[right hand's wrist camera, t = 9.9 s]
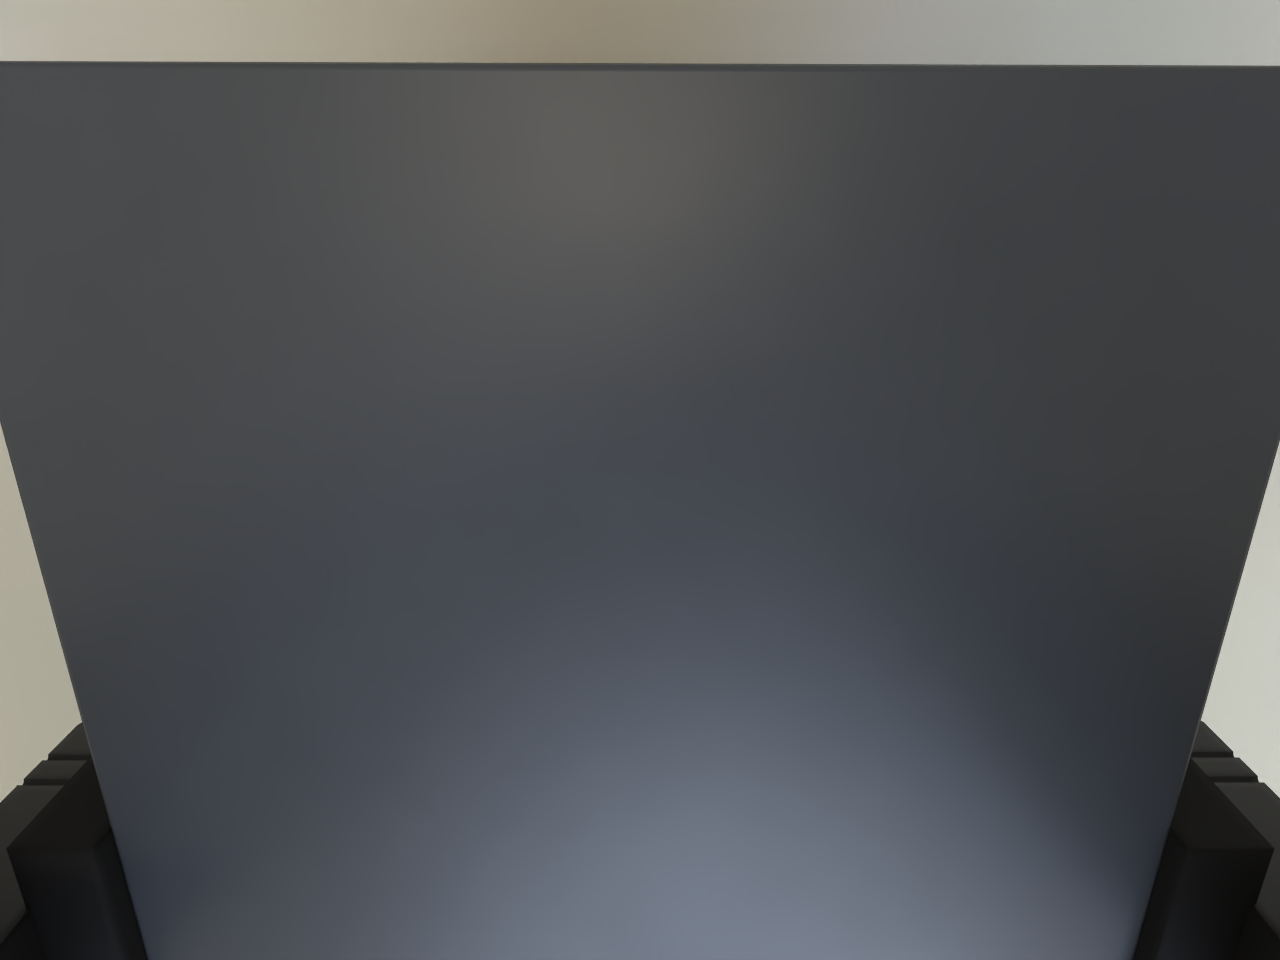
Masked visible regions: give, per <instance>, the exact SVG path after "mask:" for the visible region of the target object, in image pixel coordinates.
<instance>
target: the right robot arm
mask: <svg viewBox="0 0 1280 960" xmlns="http://www.w3.org/2000/svg"><path fill="white" fill-rule="evenodd" d="M0 960H147V956H146V953H145V949H144V945H143V942H142V938H141V934H140V931H139V927H138V923H137V920H136V916H135V912H134V909H133V905H132V901H131V898H130V894H129V890H128V887H127V883H126V879H125V876H124V872H123V869H122V865H121V861H120V858H119V854H118V850H117V847H116V843H115V839H114V836H113V832H112V828H111V825H110V821H109V817H108V814H107V810H106V806H105V803H104V799H103V795H102V792H101V788H100V784H99V781H98V777H97V773H96V770H95V766H94V762H93V759H92V755H91V752H90V748H89V744H88V741H87V737H86V733H85V730H84V726H83V722H82V723H80V724H79V725H77V726H76V727H75V728H74V729H73V730H72V731H71V732H70V733H69V734H68V735H67V736H66V737H65V738H64V739H63V740H62V741H61V742H60V743H59V744H58V745H57V746H56V747H55V748H54V749H53V750H52V751H51V752H50V753H49V754H48V760H42V761H41V762H40V763H39V764H38V765H37V766H36V767H35V768H34V769H33V770H32V771H31V772H30V773H29V774H28V775H27V776H26V777H25V778H24V783H23V785H18V786H17V787H16V788H15V789H14V790H13V791H12V792H11V793H10V794H9V795H8V796H7V797H6V798H5V799H4V800H3V801H2V802H1V803H0ZM1133 960H1280V798H1279V797H1278V796H1277V795H1276V794H1275V793H1274V792H1273V791H1272V790H1271V789H1270V788H1269V787H1268V786H1267V785H1266V784H1265V783H1259V781H1258V776H1257V775H1256V774H1255V773H1254V772H1253V771H1252V770H1251V769H1250V768H1249V767H1248V766H1247V765H1246V764H1245V763H1244V762H1243V761H1242V760H1241V759H1240V758H1234V756H1233V751H1232V750H1231V749H1230V748H1229V747H1228V746H1227V745H1226V744H1225V743H1224V742H1223V741H1222V740H1221V739H1220V738H1219V737H1218V736H1217V735H1216V734H1215V733H1214V732H1213V731H1212V730H1211V729H1210V728H1209V727H1208V726H1207V725H1206V724H1205V723H1204V722H1202V721H1200V724H1199V728H1198V731H1197V735H1196V738H1195V742H1194V746H1193V749H1192V753H1191V756H1190V760H1189V763H1188V767H1187V770H1186V774H1185V777H1184V781H1183V784H1182V788H1181V792H1180V795H1179V799H1178V802H1177V806H1176V809H1175V813H1174V816H1173V820H1172V823H1171V827H1170V830H1169V834H1168V838H1167V841H1166V845H1165V848H1164V852H1163V855H1162V859H1161V862H1160V866H1159V869H1158V873H1157V877H1156V880H1155V884H1154V887H1153V891H1152V894H1151V898H1150V901H1149V905H1148V908H1147V912H1146V915H1145V919H1144V923H1143V926H1142V930H1141V933H1140V937H1139V940H1138V944H1137V947H1136V951H1135V954H1134V958H1133Z"/></svg>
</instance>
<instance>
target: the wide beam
mask: <svg viewBox="0 0 1280 960" xmlns="http://www.w3.org/2000/svg"><path fill="white" fill-rule="evenodd" d="M0 422H1V426H2V430H3V433H4V437H5V441H6V444H7V448H8V452H9V455H10V459H11V463H12V466H13V470H14V474H15V477H16V481H17V485H18V488H19V492H20V496H21V499H22V503H23V507H24V510H25V514H26V518H27V521H28V525H29V529H30V532H31V536H32V539H33V543H34V547H35V550H36V554H37V558H38V561H39V565H40V569H41V572H42V576H43V580H44V583H45V587H46V591H47V594H48V598H49V602H50V605H51V609H52V613H53V616H54V620H55V624H56V627H57V631H58V635H59V638H60V642H61V646H62V649H63V653H64V656H65V660H66V664H67V667H68V671H69V675H70V678H71V682H72V686H73V689H74V693H75V697H76V700H77V704H78V708H79V711H80V715H81V719H82V722H83V726H84V730H85V733H86V737H87V741H88V744H89V748H90V752H91V755H92V759H93V762H94V766H95V770H96V773H97V777H98V781H99V784H100V788H101V792H102V795H103V799H104V803H105V806H106V810H107V814H108V817H109V821H110V825H111V828H112V832H113V836H114V839H115V843H116V847H117V850H118V854H119V858H120V861H121V865H122V869H123V872H124V876H125V879H126V883H127V887H128V890H129V894H130V898H131V901H132V905H133V909H134V912H135V916H136V920H137V923H138V927H139V931H140V934H141V938H142V942H143V945H144V949H145V953H146V956H147V960H1133V958H1134V954H1135V951H1136V947H1137V944H1138V940H1139V937H1140V933H1141V930H1142V926H1143V923H1144V919H1145V915H1146V912H1147V908H1148V905H1149V901H1150V898H1151V894H1152V891H1153V887H1154V884H1155V880H1156V877H1157V873H1158V869H1159V866H1160V862H1161V859H1162V855H1163V852H1164V848H1165V845H1166V841H1167V838H1168V834H1169V830H1170V827H1171V823H1172V820H1173V816H1174V813H1175V809H1176V806H1177V802H1178V799H1179V795H1180V792H1181V788H1182V784H1183V781H1184V777H1185V774H1186V770H1187V767H1188V763H1189V760H1190V756H1191V753H1192V749H1193V746H1194V742H1195V738H1196V735H1197V731H1198V728H1199V724H1200V721H1201V717H1202V714H1203V710H1204V707H1205V703H1206V700H1207V696H1208V692H1209V689H1210V685H1211V682H1212V678H1213V675H1214V671H1215V668H1216V664H1217V661H1218V657H1219V654H1220V650H1221V646H1222V643H1223V639H1224V636H1225V632H1226V629H1227V625H1228V622H1229V618H1230V615H1231V611H1232V607H1233V604H1234V600H1235V597H1236V593H1237V590H1238V586H1239V583H1240V579H1241V576H1242V572H1243V569H1244V565H1245V561H1246V558H1247V554H1248V551H1249V547H1250V544H1251V540H1252V537H1253V533H1254V530H1255V526H1256V523H1257V519H1258V515H1259V512H1260V508H1261V505H1262V501H1263V498H1264V494H1265V491H1266V487H1267V484H1268V480H1269V477H1270V473H1271V469H1272V466H1273V462H1274V459H1275V455H1276V452H1277V448H1278V445H1279V441H1280V66H1191V65H917V64H643V63H369V62H95V61H0Z"/></svg>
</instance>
